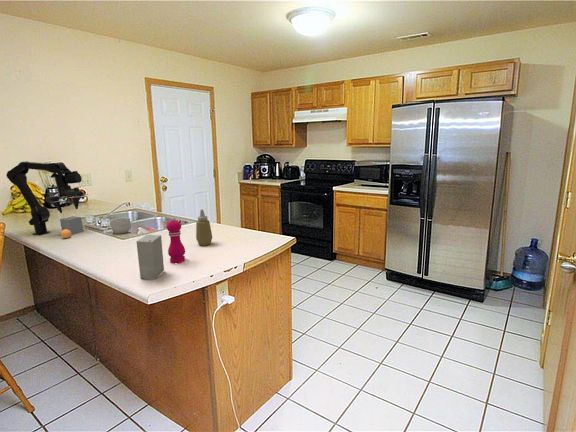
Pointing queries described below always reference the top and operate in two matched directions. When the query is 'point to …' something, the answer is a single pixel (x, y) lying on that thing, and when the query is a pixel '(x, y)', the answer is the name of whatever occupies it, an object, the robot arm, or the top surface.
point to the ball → (65, 233)
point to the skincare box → (150, 256)
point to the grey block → (72, 224)
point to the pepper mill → (175, 242)
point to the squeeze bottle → (203, 230)
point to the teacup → (120, 225)
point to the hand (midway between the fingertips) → (69, 211)
